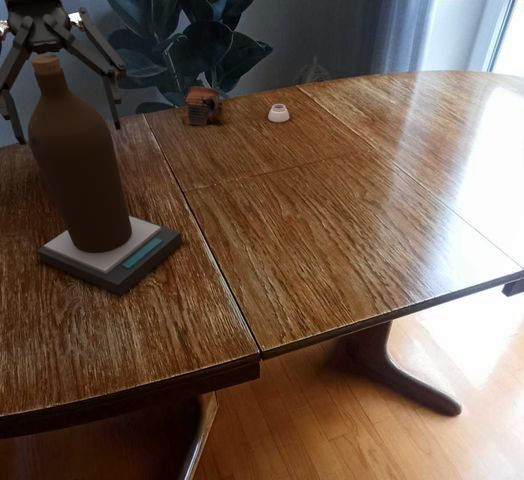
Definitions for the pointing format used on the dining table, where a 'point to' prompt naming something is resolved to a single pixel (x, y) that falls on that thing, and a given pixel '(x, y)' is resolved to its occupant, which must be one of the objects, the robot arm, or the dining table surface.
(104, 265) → the kitchen scale
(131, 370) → the dining table surface
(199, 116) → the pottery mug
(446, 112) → the dining table surface
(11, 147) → the dining table surface
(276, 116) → the lidless jar
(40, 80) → the olive oil
